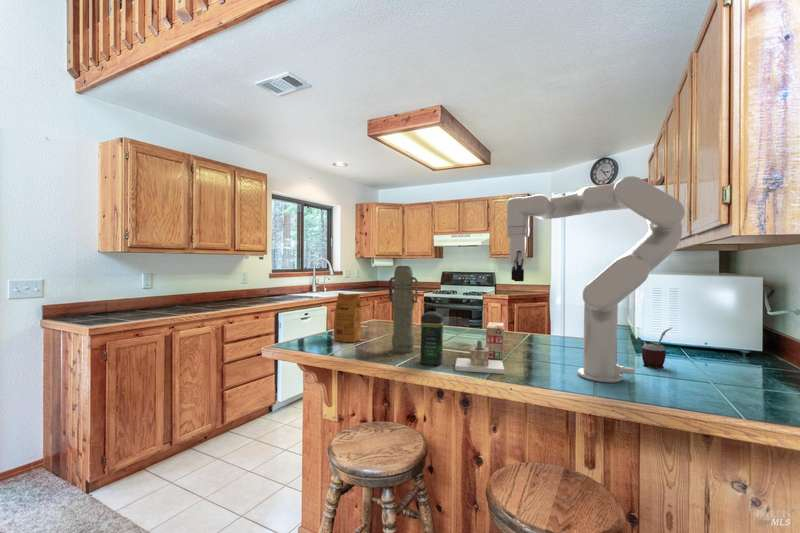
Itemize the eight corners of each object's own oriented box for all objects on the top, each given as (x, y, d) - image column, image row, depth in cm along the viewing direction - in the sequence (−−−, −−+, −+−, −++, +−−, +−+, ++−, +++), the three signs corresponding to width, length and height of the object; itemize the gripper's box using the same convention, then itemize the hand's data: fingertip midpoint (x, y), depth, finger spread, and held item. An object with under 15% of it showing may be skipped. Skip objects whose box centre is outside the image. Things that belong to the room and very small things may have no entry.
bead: (488, 361, 131) (488, 347, 131) (488, 366, 125) (488, 351, 125) (470, 360, 132) (471, 346, 132) (470, 365, 127) (470, 350, 127)
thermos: (389, 347, 158) (390, 265, 157) (417, 348, 156) (418, 266, 156) (386, 352, 149) (387, 265, 148) (416, 353, 148) (417, 266, 147)
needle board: (502, 364, 133) (502, 338, 132) (504, 373, 122) (504, 345, 122) (457, 361, 136) (457, 336, 136) (455, 370, 125) (455, 342, 125)
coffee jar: (440, 366, 129) (441, 314, 129) (418, 365, 131) (419, 313, 131) (444, 359, 139) (444, 310, 138) (423, 358, 141) (423, 309, 140)
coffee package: (340, 337, 178) (341, 291, 178) (364, 339, 174) (364, 292, 174) (329, 341, 169) (330, 293, 169) (354, 343, 164) (354, 294, 164)
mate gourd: (638, 363, 136) (639, 322, 136) (664, 365, 133) (664, 324, 133) (645, 369, 129) (646, 326, 129) (672, 371, 126) (673, 327, 126)
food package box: (489, 346, 162) (490, 318, 162) (504, 347, 160) (504, 319, 160) (485, 358, 141) (486, 326, 141) (502, 360, 139) (503, 327, 139)
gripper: (505, 234, 141) (504, 279, 141) (508, 230, 124) (508, 281, 124) (526, 234, 140) (525, 279, 140) (532, 230, 123) (531, 282, 123)
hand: (517, 280), depth 132 cm, fingers open, 9 cm apart
